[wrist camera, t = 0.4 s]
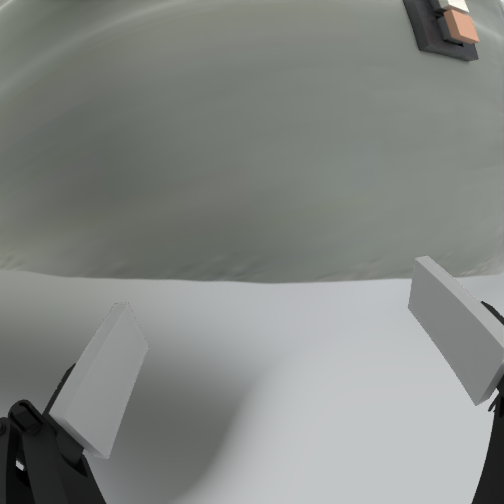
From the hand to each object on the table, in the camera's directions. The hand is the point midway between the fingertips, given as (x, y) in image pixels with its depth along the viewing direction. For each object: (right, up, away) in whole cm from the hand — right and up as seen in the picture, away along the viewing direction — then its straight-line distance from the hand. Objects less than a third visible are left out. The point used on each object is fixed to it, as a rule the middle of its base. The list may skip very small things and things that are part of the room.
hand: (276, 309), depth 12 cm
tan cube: (+30, +37, +12) cm, 49 cm away
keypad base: (+29, +43, +12) cm, 53 cm away
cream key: (+29, +42, +10) cm, 52 cm away
